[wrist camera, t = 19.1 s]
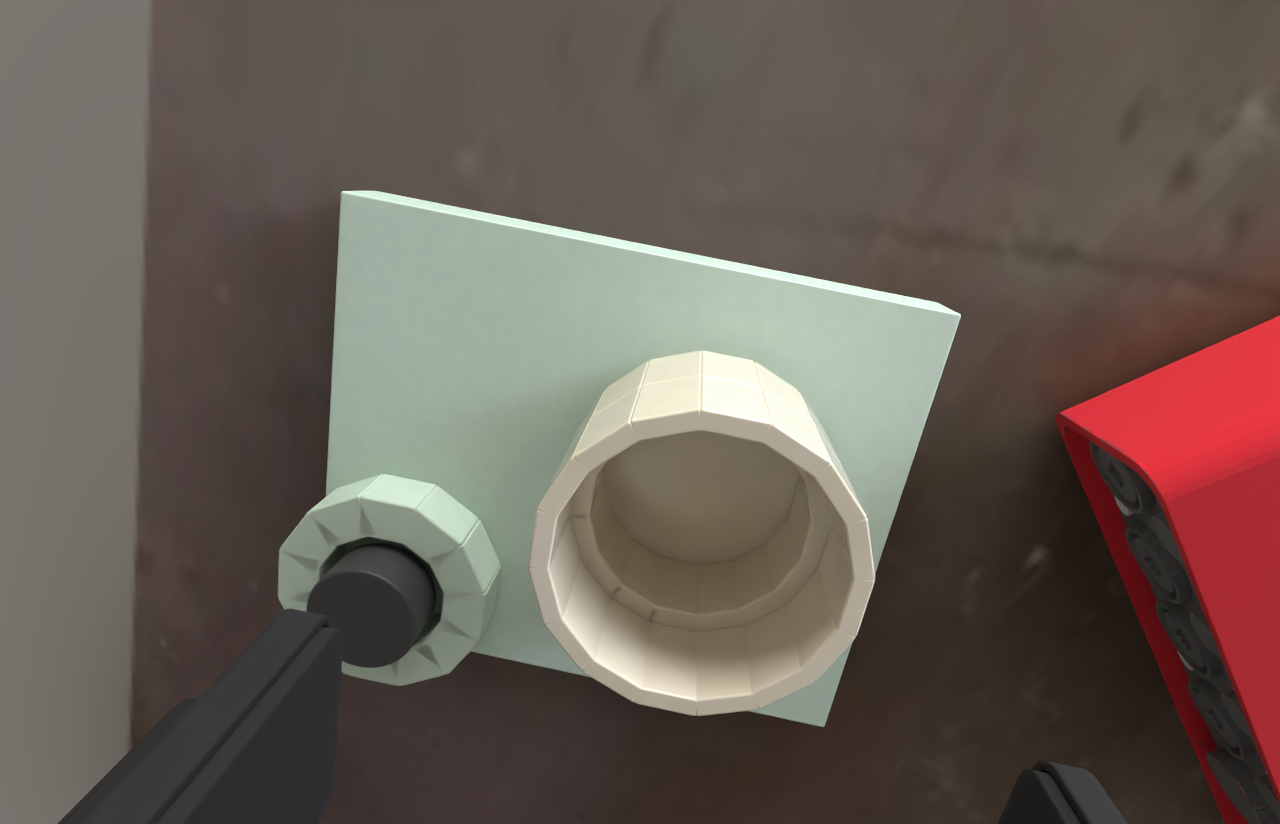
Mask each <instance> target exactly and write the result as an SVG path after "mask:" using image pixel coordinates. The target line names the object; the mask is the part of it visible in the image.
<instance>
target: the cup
mask: <svg viewBox="0 0 1280 824" xmlns="http://www.w3.org/2000/svg"><path fill="white" fill-rule="evenodd" d="M528 567H529V568H528V570H529V574H530V577H531V581H532V584H533V588H534V591H535V595H536V598H537V602H538V605H539V609H540V612H541V616H542V619H543V622H544V624H545V626H546V628H547V629H548V630H549V631H550V633H551V634H552V635H553V636H554V638H555V639H556V640H557V641H558V643H559V644H560V645H561V646H562V648H563V649H564V650H565V651H566V653H567V654H568V655H569V656H570V658H571V659H572V660H573V661H574V663H575V664H576V665H577V666H578V668H579V669H580V670H582V671H583V673H585V674H587V675H588V676H590V677H592V678H593V679H595V680H597V681H598V682H600V683H602V684H603V685H605V686H607V687H608V688H610V689H611V690H613V691H615V692H616V693H618V694H620V695H621V696H623V697H625V698H626V699H628V700H630V701H631V702H635V703H636V704H640V705H645V706H650V707H654V708H659V709H663V710H668V711H673V712H677V713H682V714H687V715H691V716H695V715H697V716H705V715H714V714H723V713H732V712H741V711H750V710H757V709H758V708H759V709H760V708H763V707H765V706H767V705H769V704H771V703H773V702H775V701H777V700H779V699H781V698H783V697H786V696H788V695H790V694H792V693H794V692H796V691H798V690H800V689H802V688H804V687H806V686H808V685H810V684H812V683H813V682H814V681H817V679H818V678H819V677H820V676H821V675H822V674H823V673H824V672H825V671H826V670H827V669H828V668H829V666H830V665H831V664H832V663H833V662H834V661H835V660H836V659H837V658H838V657H839V656H840V654H841V653H842V652H843V651H844V650H845V649H846V648H847V647H848V646H849V645H850V644H851V643H852V641H853V640H854V639H855V636H857V634H858V631H859V628H860V625H861V622H862V619H863V616H864V613H865V610H866V607H867V604H868V601H869V598H870V595H871V592H872V589H873V586H874V583H875V570H874V562H873V554H872V546H871V539H870V531H869V523H868V519H867V517H866V513H865V511H864V509H863V507H862V505H861V503H860V501H859V499H858V497H857V495H856V493H855V491H854V489H853V487H852V485H851V483H850V481H849V479H848V477H847V475H846V473H845V470H844V468H843V467H842V465H841V463H840V461H839V459H838V457H837V455H836V452H835V450H834V448H833V446H832V444H831V442H830V440H829V438H828V436H827V434H826V432H825V430H824V429H823V427H822V425H821V424H820V422H819V421H818V419H817V418H816V416H815V415H814V413H813V411H812V410H811V408H810V407H809V405H808V404H807V402H806V401H805V399H804V397H803V396H802V394H801V393H799V392H798V390H797V389H796V388H794V387H793V386H791V385H790V384H788V383H787V382H785V381H784V380H782V379H781V378H779V377H778V376H776V375H775V374H773V373H772V372H770V371H769V370H768V369H766V368H765V367H763V366H762V365H760V364H759V363H754V361H753V360H748V359H743V358H738V357H733V356H728V355H723V354H718V353H713V352H708V351H702V352H701V351H694V352H689V353H684V354H678V355H673V356H667V357H662V358H657V359H651V360H650V361H647V362H645V363H643V364H642V365H640V366H639V367H637V368H636V369H634V370H633V371H631V372H629V373H628V374H626V375H625V376H623V377H622V378H620V379H619V380H617V381H616V382H614V383H612V384H611V385H609V386H608V387H607V388H606V390H604V391H603V392H602V394H601V395H600V397H599V398H598V400H597V401H596V403H595V404H594V406H593V407H592V409H591V410H590V412H589V413H588V415H587V416H586V418H585V419H584V421H583V422H582V424H581V425H580V427H579V429H578V431H577V432H576V434H575V436H574V438H573V440H572V442H571V444H570V446H569V448H568V450H567V452H566V454H565V456H564V458H563V460H562V461H561V463H560V465H559V467H558V469H557V471H556V473H555V475H554V477H553V478H552V480H551V482H550V484H549V486H548V488H547V490H546V492H545V494H544V496H543V498H542V500H541V502H540V504H539V505H538V509H537V510H536V517H535V523H534V529H533V536H532V542H531V549H530V555H529V562H528Z"/></svg>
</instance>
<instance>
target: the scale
mask: <svg viewBox="0 0 1280 824" xmlns="http://www.w3.org/2000/svg"><path fill="white" fill-rule="evenodd" d="M960 317H961V315H960V314H959V313H957V312H955V311H953V310H951V309H949V308H947V307H945V306H943V305H941V304H939V303H937V302H932V301H927V300H922V299H916V298H911V297H906V296H901V295H896V294H891V293H886V292H881V291H876V290H871V289H866V288H861V287H856V286H851V285H846V284H841V283H836V282H831V281H826V280H821V279H816V278H811V277H806V276H801V275H796V274H791V273H786V272H781V271H776V270H771V269H766V268H761V267H756V266H751V265H746V264H741V263H736V262H731V261H725V260H720V259H715V258H710V257H705V256H700V255H695V254H690V253H685V252H680V251H675V250H670V249H665V248H660V247H655V246H650V245H645V244H640V243H635V242H630V241H625V240H620V239H615V238H610V237H605V236H600V235H595V234H590V233H585V232H580V231H575V230H570V229H565V228H560V227H555V226H550V225H545V224H540V223H534V222H529V221H524V220H519V219H514V218H509V217H504V216H499V215H494V214H489V213H484V212H479V211H474V210H469V209H464V208H459V207H454V206H449V205H444V204H439V203H434V202H429V201H424V200H419V199H414V198H409V197H404V196H399V195H394V194H389V193H384V192H379V191H342V192H341V202H340V222H339V241H338V261H337V281H336V301H335V321H334V341H333V361H332V381H331V401H330V421H329V441H328V461H327V481H326V497H325V498H324V499H323V500H322V501H321V502H319V503H318V504H317V505H316V506H314V507H313V508H312V509H311V510H310V511H308V512H307V514H306V515H305V516H304V518H303V519H302V520H301V521H300V523H299V524H298V525H297V527H296V528H295V529H294V530H293V532H292V533H291V534H290V536H289V537H288V538H287V539H286V541H285V542H284V543H283V545H282V546H281V547H280V550H279V571H278V598H279V601H280V603H281V604H282V606H283V608H284V610H285V609H289V608H291V609H296V610H301V611H306V608H307V601H308V598H309V594H310V592H311V590H312V589H313V587H314V586H315V584H316V583H317V582H318V581H319V580H320V579H321V578H322V577H323V576H324V575H325V574H326V573H327V572H328V571H329V570H330V569H331V568H332V567H333V566H334V565H335V564H336V563H337V562H338V561H339V560H340V559H341V558H342V557H343V556H344V555H345V554H346V553H347V552H348V551H350V550H351V549H353V548H355V547H357V546H360V545H364V544H368V543H385V544H390V545H394V546H397V547H399V548H402V549H404V550H406V551H408V552H409V553H411V554H412V555H414V556H415V557H416V558H417V559H418V560H420V562H421V563H422V564H423V565H424V566H425V567H426V569H427V570H428V572H429V573H430V575H431V577H432V580H433V582H434V586H435V591H436V603H435V608H434V611H433V613H432V615H431V617H430V619H429V620H428V622H427V624H426V625H425V627H424V628H423V630H422V631H421V633H420V635H419V636H418V638H417V639H416V641H415V642H414V644H413V646H412V647H411V649H410V650H409V651H408V653H407V654H406V655H404V656H403V657H402V658H401V659H399V660H398V661H396V662H394V663H392V664H389V665H386V666H383V667H376V668H364V667H358V666H354V665H350V664H348V663H345V662H343V661H342V668H341V671H342V672H343V673H344V674H346V675H347V674H348V675H350V676H353V677H358V678H362V679H367V680H372V681H376V682H381V683H385V684H390V685H395V686H399V685H400V686H403V685H407V684H411V683H415V682H419V681H423V680H427V679H431V678H435V677H439V676H443V675H446V674H449V673H450V672H451V671H452V670H453V669H454V668H455V667H456V666H457V665H458V664H459V663H460V662H461V660H462V659H463V658H464V657H465V656H466V655H467V654H468V653H469V652H470V651H471V652H476V653H480V654H485V655H490V656H494V657H499V658H504V659H508V660H513V661H517V662H522V663H527V664H531V665H536V666H541V667H545V668H550V669H555V670H559V671H564V672H569V673H573V674H578V675H583V676H587V677H590V676H588V675H587V674H585V673H583V671H582V670H580V669H579V668H578V666H577V665H576V664H575V663H574V661H573V660H572V659H571V658H570V656H569V655H568V654H567V653H566V651H565V650H564V649H563V648H562V646H561V645H560V644H559V643H558V641H557V640H556V639H555V638H554V636H553V635H552V634H551V633H550V631H549V630H548V629H547V628H546V626H545V624H544V622H543V619H542V616H541V612H540V609H539V605H538V602H537V598H536V595H535V591H534V588H533V584H532V581H531V577H530V574H529V570H528V568H529V567H528V562H529V555H530V549H531V542H532V536H533V529H534V523H535V517H536V510H537V509H538V505H539V504H540V502H541V500H542V498H543V496H544V494H545V492H546V490H547V488H548V486H549V484H550V482H551V480H552V478H553V477H554V475H555V473H556V471H557V469H558V467H559V465H560V463H561V461H562V460H563V458H564V456H565V454H566V452H567V450H568V448H569V446H570V444H571V442H572V440H573V438H574V436H575V434H576V432H577V431H578V429H579V427H580V425H581V424H582V422H583V421H584V419H585V418H586V416H587V415H588V413H589V412H590V410H591V409H592V407H593V406H594V404H595V403H596V401H597V400H598V398H599V397H600V395H601V394H602V392H603V391H604V390H606V388H607V387H608V386H609V385H611V384H612V383H614V382H616V381H617V380H619V379H620V378H622V377H623V376H625V375H626V374H628V373H629V372H631V371H633V370H634V369H636V368H637V367H639V366H640V365H642V364H643V363H645V362H647V361H650V360H651V359H657V358H662V357H667V356H673V355H678V354H684V353H689V352H694V351H701V352H702V351H708V352H713V353H718V354H723V355H728V356H733V357H738V358H743V359H748V360H753V361H754V363H759V364H760V365H762V366H763V367H765V368H766V369H768V370H769V371H770V372H772V373H773V374H775V375H776V376H778V377H779V378H781V379H782V380H784V381H785V382H787V383H788V384H790V385H791V386H793V387H794V388H796V389H797V390H798V392H799V393H801V394H802V396H803V397H804V399H805V401H806V402H807V404H808V405H809V407H810V408H811V410H812V411H813V413H814V415H815V416H816V418H817V419H818V421H819V422H820V424H821V425H822V427H823V429H824V430H825V432H826V434H827V436H828V438H829V440H830V442H831V444H832V446H833V448H834V450H835V452H836V455H837V457H838V459H839V461H840V463H841V465H842V467H843V468H844V470H845V473H846V475H847V477H848V479H849V481H850V483H851V485H852V487H853V489H854V491H855V493H856V495H857V497H858V499H859V501H860V503H861V505H862V507H863V509H864V511H865V513H866V517H867V519H868V523H869V531H870V539H871V546H872V554H873V562H874V570H875V573H876V570H877V567H878V564H879V561H880V558H881V555H882V552H883V549H884V546H885V543H886V540H887V537H888V534H889V531H890V528H891V525H892V522H893V519H894V516H895V513H896V510H897V507H898V504H899V501H900V498H901V495H902V492H903V489H904V486H905V483H906V480H907V477H908V474H909V471H910V468H911V465H912V462H913V459H914V456H915V453H916V450H917V447H918V444H919V441H920V437H921V434H922V431H923V428H924V425H925V422H926V419H927V416H928V413H929V410H930V407H931V404H932V401H933V398H934V395H935V392H936V389H937V386H938V383H939V380H940V377H941V374H942V371H943V368H944V365H945V362H946V359H947V356H948V353H949V350H950V347H951V344H952V341H953V338H954V335H955V332H956V329H957V326H958V323H959V320H960ZM306 612H307V611H306ZM852 642H853V641H852ZM851 645H852V643H851V644H850V645H849V646H848V647H847V648H846V649H845V650H844V651H843V652H842V653H841V654H840V656H839V657H838V658H837V659H836V660H835V661H834V662H833V663H832V664H831V665H830V666H829V668H828V669H827V670H826V671H825V672H824V673H823V674H822V675H821V676H820V677H819V678H818V679H817V681H814V682H813V683H812V684H810V685H808V686H806V687H804V688H802V689H800V690H798V691H796V692H794V693H792V694H790V695H788V696H786V697H783V698H781V699H779V700H777V701H775V702H773V703H771V704H769V705H767V706H765V707H763V708H760V709H759V708H758V709H757V710H750V712H755V713H760V714H764V715H769V716H774V717H778V718H783V719H787V720H792V721H797V722H801V723H806V724H811V725H815V726H820V727H824V726H825V723H826V720H827V717H828V714H829V711H830V708H831V705H832V702H833V699H834V696H835V693H836V690H837V687H838V684H839V681H840V678H841V675H842V672H843V669H844V666H845V663H846V660H847V657H848V654H849V651H850V648H851Z"/></svg>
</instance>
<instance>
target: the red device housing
mask: <svg viewBox="0 0 1280 824" xmlns="http://www.w3.org/2000/svg"><path fill="white" fill-rule="evenodd" d="M1056 423H1057V427H1058V429H1059V432H1060V434H1061V436H1062V439H1063V441H1064V444H1065V446H1066V448H1067V451H1068V453H1069V455H1070V458H1071V460H1072V463H1073V465H1074V467H1075V470H1076V472H1077V474H1078V477H1079V479H1080V482H1081V484H1082V486H1083V489H1084V491H1085V493H1086V496H1087V498H1088V501H1089V503H1090V505H1091V508H1092V510H1093V512H1094V515H1095V517H1096V519H1097V522H1098V524H1099V527H1100V529H1101V531H1102V534H1103V536H1104V538H1105V541H1106V543H1107V546H1108V548H1109V550H1110V553H1111V555H1112V557H1113V560H1114V562H1115V565H1116V567H1117V569H1118V572H1119V574H1120V576H1121V579H1122V581H1123V584H1124V586H1125V588H1126V591H1127V593H1128V595H1129V598H1130V600H1131V603H1132V605H1133V607H1134V610H1135V612H1136V614H1137V617H1138V619H1139V622H1140V624H1141V626H1142V629H1143V631H1144V633H1145V636H1146V638H1147V641H1148V643H1149V645H1150V648H1151V650H1152V652H1153V655H1154V657H1155V660H1156V662H1157V664H1158V667H1159V669H1160V671H1161V674H1162V676H1163V679H1164V681H1165V683H1166V686H1167V688H1168V690H1169V693H1170V695H1171V697H1172V700H1173V702H1174V705H1175V707H1176V709H1177V712H1178V714H1179V716H1180V719H1181V721H1182V724H1183V726H1184V728H1185V731H1186V733H1187V735H1188V738H1189V740H1190V743H1191V745H1192V747H1193V750H1194V752H1195V754H1196V757H1197V759H1198V762H1199V764H1200V766H1201V769H1202V771H1203V773H1204V776H1205V778H1206V781H1207V783H1208V785H1209V788H1210V790H1211V792H1212V795H1213V797H1214V800H1215V802H1216V804H1217V807H1218V809H1219V811H1220V814H1221V816H1222V819H1223V821H1224V823H1225V824H1280V316H1278V317H1275V318H1273V319H1271V320H1269V321H1266V322H1264V323H1262V324H1260V325H1257V326H1255V327H1253V328H1251V329H1248V330H1246V331H1244V332H1241V333H1239V334H1237V335H1235V336H1232V337H1230V338H1228V339H1226V340H1223V341H1221V342H1219V343H1217V344H1214V345H1212V346H1210V347H1207V348H1205V349H1203V350H1201V351H1198V352H1196V353H1194V354H1192V355H1189V356H1187V357H1185V358H1183V359H1180V360H1178V361H1176V362H1173V363H1171V364H1169V365H1167V366H1164V367H1162V368H1160V369H1158V370H1155V371H1153V372H1151V373H1149V374H1146V375H1144V376H1142V377H1139V378H1137V379H1135V380H1133V381H1130V382H1128V383H1126V384H1124V385H1121V386H1119V387H1117V388H1115V389H1112V390H1110V391H1108V392H1106V393H1103V394H1101V395H1099V396H1096V397H1094V398H1092V399H1090V400H1087V401H1085V402H1083V403H1081V404H1078V405H1076V406H1074V407H1072V408H1069V409H1067V410H1065V411H1062V412H1060V413H1058V414H1057V415H1056Z"/></svg>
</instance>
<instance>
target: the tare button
mask: <svg viewBox="0 0 1280 824" xmlns="http://www.w3.org/2000/svg"><path fill="white" fill-rule="evenodd" d="M435 603H436V591H435V586H434V582H433V580H432V577H431V575H430V573H429V572H428V570H427V569H426V567H425V566H424V565H423V564H422V563H421V562H420V560H418V559H417V558H416V557H415V556H414V555H412V554H411V553H409V552H408V551H406V550H404V549H402V548H399V547H397V546H394V545H390V544H385V543H368V544H364V545H360V546H357V547H355V548H353V549H351V550H350V551H348V552H347V553H346V554H345V555H344V556H343V557H342V558H341V559H340V560H339V561H338V562H337V563H336V564H335V565H334V566H333V567H332V568H331V569H330V570H329V571H328V572H327V573H326V574H325V575H324V576H323V577H322V578H321V579H320V580H319V581H318V582H317V583H316V584H315V586H314V587H313V589H312V590H311V592H310V594H309V598H308V601H307V608H306V611H307V612H311V613H316V614H320V615H325V616H329V617H330V618H331V619H332V622H333V629H338V630H341V631H342V633H343V653H342V661H343V662H345V663H348V664H350V665H354V666H358V667H364V668H376V667H383V666H386V665H389V664H392V663H394V662H396V661H398V660H399V659H401V658H402V657H403V656H404V655H406V654H407V653H408V651H409V650H410V649H411V647H412V646H413V644H414V642H415V641H416V639H417V638H418V636H419V635H420V633H421V631H422V630H423V628H424V627H425V625H426V624H427V622H428V620H429V619H430V617H431V615H432V613H433V611H434V608H435Z"/></svg>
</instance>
